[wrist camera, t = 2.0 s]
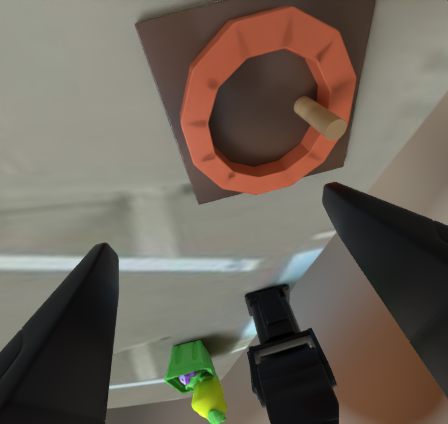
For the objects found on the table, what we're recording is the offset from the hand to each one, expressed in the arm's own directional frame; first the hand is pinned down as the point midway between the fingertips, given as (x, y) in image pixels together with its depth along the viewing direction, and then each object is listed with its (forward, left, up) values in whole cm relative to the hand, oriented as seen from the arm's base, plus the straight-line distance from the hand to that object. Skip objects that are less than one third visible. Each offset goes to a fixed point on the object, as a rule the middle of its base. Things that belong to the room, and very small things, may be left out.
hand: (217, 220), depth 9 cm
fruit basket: (-41, +12, -10) cm, 44 cm away
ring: (0, -5, -9) cm, 10 cm away
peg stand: (0, -5, -9) cm, 11 cm away
